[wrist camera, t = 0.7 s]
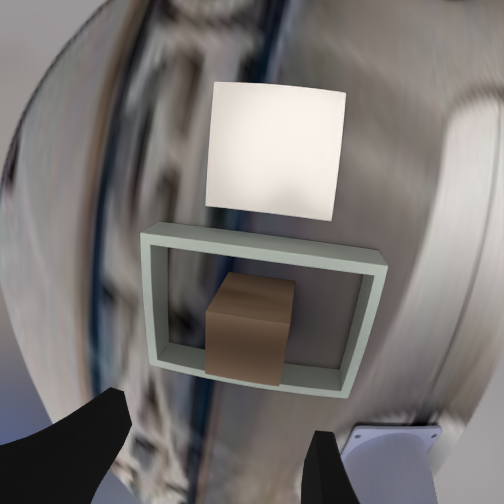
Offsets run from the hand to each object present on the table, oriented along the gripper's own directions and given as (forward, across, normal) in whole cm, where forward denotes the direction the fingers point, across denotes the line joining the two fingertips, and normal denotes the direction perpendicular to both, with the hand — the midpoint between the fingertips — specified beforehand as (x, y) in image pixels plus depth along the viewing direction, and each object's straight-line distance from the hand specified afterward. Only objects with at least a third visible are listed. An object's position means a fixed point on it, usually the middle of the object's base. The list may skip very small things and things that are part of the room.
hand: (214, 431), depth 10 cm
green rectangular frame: (+10, 0, 0) cm, 10 cm away
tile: (+10, 0, -9) cm, 14 cm away
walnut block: (+10, 0, 0) cm, 11 cm away
